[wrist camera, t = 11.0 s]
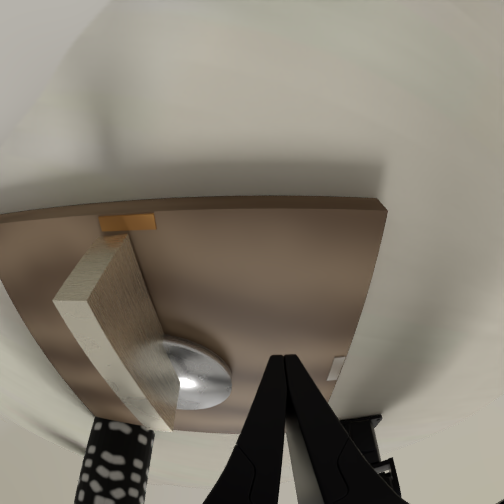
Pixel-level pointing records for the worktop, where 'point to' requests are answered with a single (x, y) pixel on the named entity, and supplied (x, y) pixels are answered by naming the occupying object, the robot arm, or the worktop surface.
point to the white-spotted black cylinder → (115, 464)
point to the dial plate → (208, 284)
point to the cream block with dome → (136, 339)
